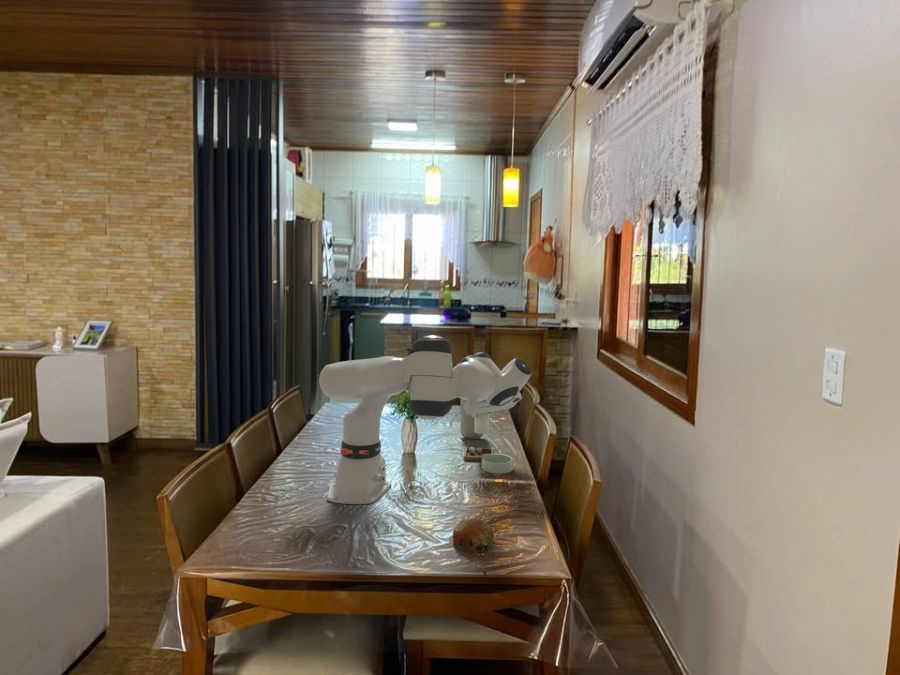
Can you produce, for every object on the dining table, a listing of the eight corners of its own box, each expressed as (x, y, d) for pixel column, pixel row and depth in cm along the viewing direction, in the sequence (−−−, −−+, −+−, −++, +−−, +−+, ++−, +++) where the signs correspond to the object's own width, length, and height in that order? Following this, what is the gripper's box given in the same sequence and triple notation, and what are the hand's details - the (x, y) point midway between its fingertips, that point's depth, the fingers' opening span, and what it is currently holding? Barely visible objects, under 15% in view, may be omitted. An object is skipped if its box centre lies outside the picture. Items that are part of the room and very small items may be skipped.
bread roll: (491, 552, 155) (491, 519, 157) (496, 552, 145) (495, 517, 147) (452, 552, 154) (452, 518, 157) (454, 552, 144) (454, 517, 147)
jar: (488, 434, 212) (489, 403, 211) (473, 433, 212) (474, 402, 211) (488, 430, 217) (489, 400, 216) (474, 429, 218) (475, 399, 216)
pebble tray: (492, 465, 211) (492, 458, 211) (463, 463, 212) (464, 456, 212) (492, 455, 222) (493, 448, 222) (465, 454, 223) (465, 447, 223)
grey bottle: (483, 435, 248) (485, 367, 245) (484, 443, 238) (486, 372, 234) (459, 435, 248) (461, 367, 245) (459, 442, 238) (461, 371, 235)
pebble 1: (475, 455, 219) (475, 448, 219) (468, 454, 219) (468, 448, 219) (475, 453, 221) (475, 446, 221) (468, 452, 221) (469, 446, 221)
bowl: (512, 476, 200) (513, 464, 199) (481, 475, 201) (481, 462, 200) (512, 466, 210) (512, 454, 210) (481, 465, 211) (482, 453, 210)
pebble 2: (482, 454, 219) (482, 448, 219) (476, 454, 220) (476, 448, 219) (482, 452, 222) (482, 447, 221) (476, 452, 222) (476, 446, 222)
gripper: (479, 404, 198) (460, 426, 207) (526, 397, 210) (506, 419, 219) (471, 388, 201) (453, 411, 210) (517, 382, 213) (498, 404, 222)
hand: (480, 415), depth 215 cm, fingers closed on jar, 5 cm apart
